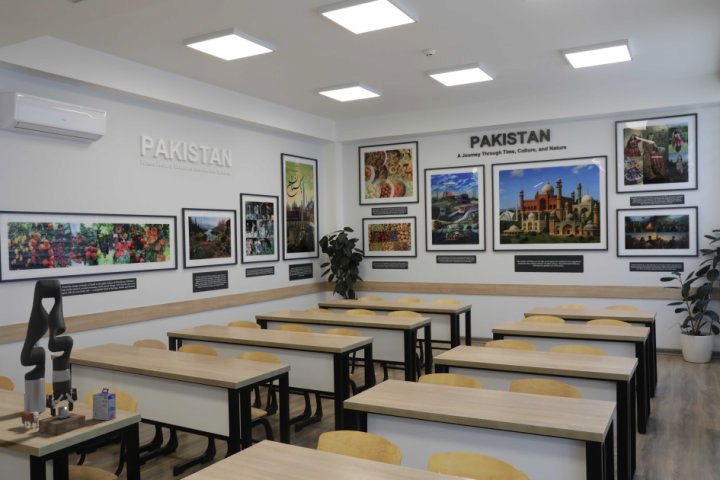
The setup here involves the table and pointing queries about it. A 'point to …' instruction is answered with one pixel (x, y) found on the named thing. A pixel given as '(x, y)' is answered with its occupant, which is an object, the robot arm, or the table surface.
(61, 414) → the peg
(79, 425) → the docking block
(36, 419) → the bull figurine
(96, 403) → the ink cartridge box
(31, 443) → the table surface
